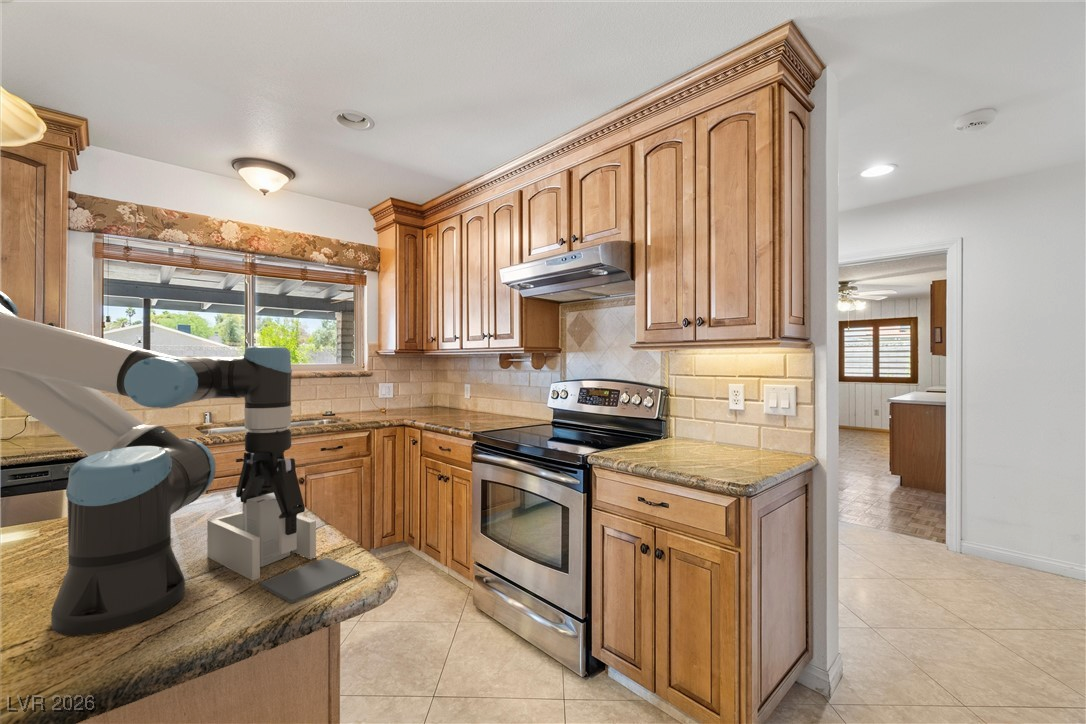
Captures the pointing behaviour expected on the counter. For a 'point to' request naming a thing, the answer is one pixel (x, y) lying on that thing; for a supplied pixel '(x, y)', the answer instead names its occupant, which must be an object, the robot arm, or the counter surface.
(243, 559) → the white u-shaped frame
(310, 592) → the mat
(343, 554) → the counter surface
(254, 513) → the skincare box
